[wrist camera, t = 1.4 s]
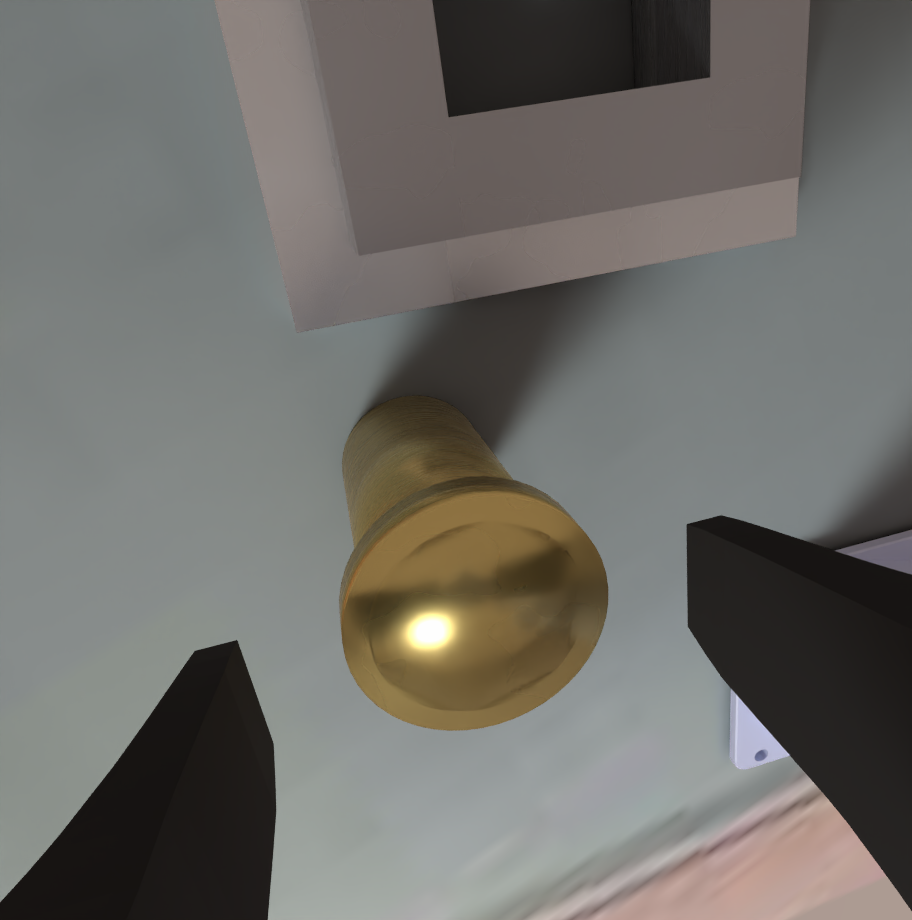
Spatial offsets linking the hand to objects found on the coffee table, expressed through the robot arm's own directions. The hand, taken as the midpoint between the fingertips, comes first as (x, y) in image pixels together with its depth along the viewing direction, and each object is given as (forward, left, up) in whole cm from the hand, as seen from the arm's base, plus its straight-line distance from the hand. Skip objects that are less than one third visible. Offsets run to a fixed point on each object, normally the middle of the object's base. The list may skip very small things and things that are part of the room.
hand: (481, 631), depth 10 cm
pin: (0, 0, -7) cm, 7 cm away
